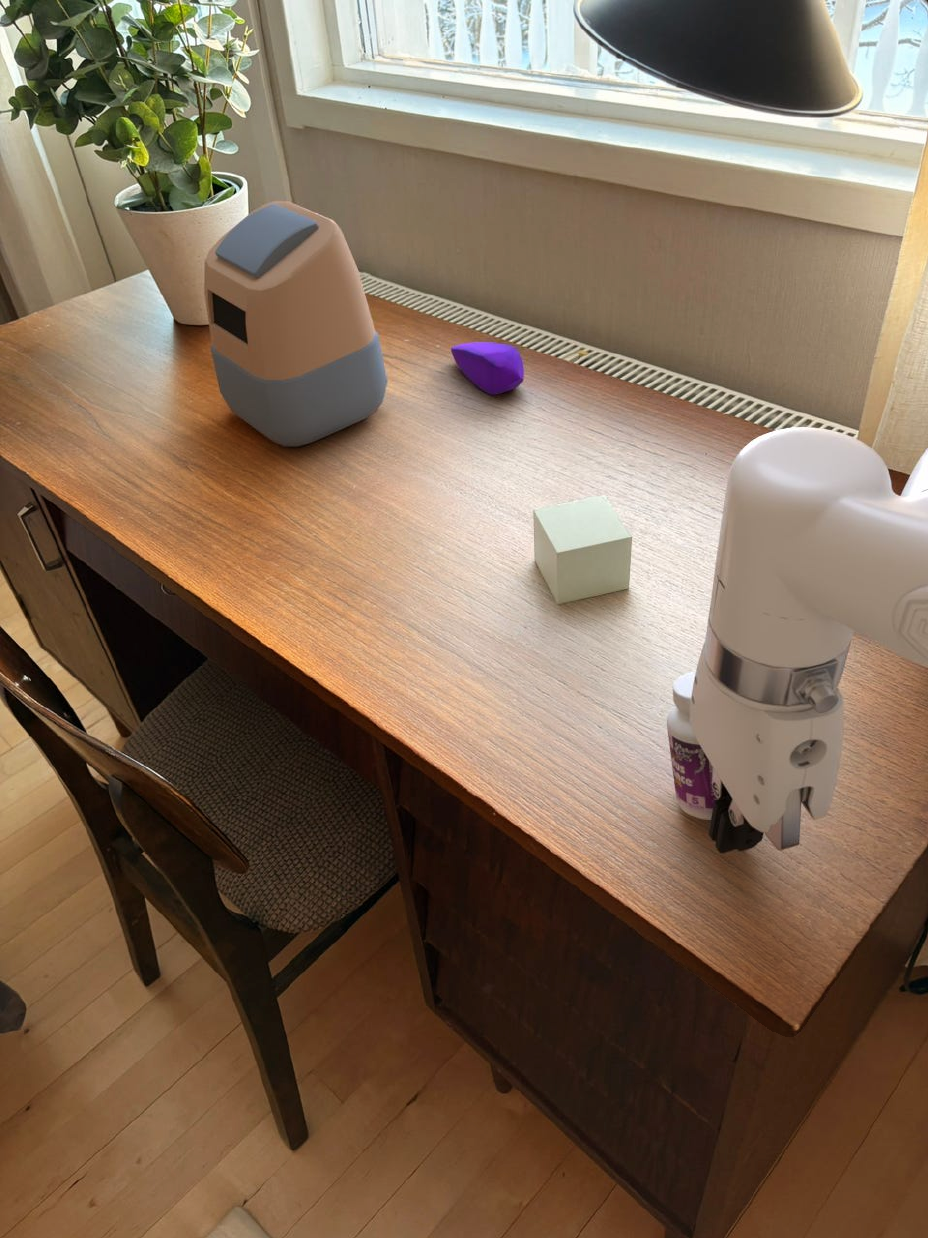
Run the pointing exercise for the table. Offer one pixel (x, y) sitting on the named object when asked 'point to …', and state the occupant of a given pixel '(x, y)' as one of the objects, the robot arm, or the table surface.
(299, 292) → the alarm clock
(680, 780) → the pill bottle
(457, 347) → the crystal
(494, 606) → the table surface
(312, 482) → the table surface
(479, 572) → the table surface
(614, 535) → the sage block
